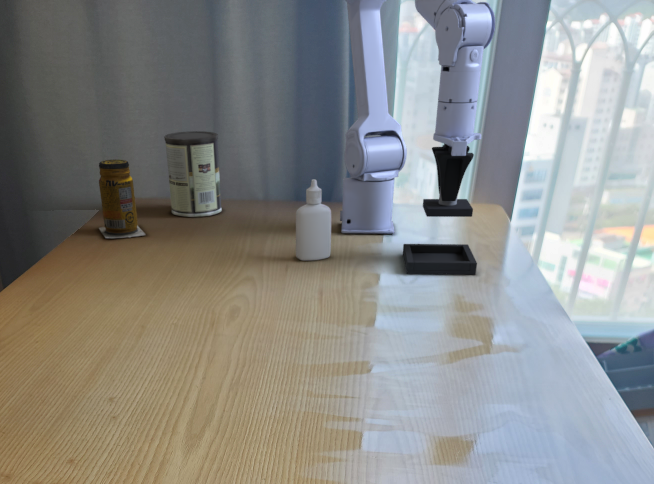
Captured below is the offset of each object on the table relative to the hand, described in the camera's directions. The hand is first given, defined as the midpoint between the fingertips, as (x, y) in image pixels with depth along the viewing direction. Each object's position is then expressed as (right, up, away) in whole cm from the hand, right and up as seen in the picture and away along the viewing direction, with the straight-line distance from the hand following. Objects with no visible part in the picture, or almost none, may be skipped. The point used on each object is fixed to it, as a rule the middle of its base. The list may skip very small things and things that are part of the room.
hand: (447, 198), depth 118 cm
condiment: (-56, +2, +21) cm, 59 cm away
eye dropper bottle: (-21, -8, +6) cm, 23 cm away
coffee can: (-43, +11, +34) cm, 56 cm away
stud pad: (0, -2, +1) cm, 2 cm away
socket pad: (-1, -10, +2) cm, 10 cm away
